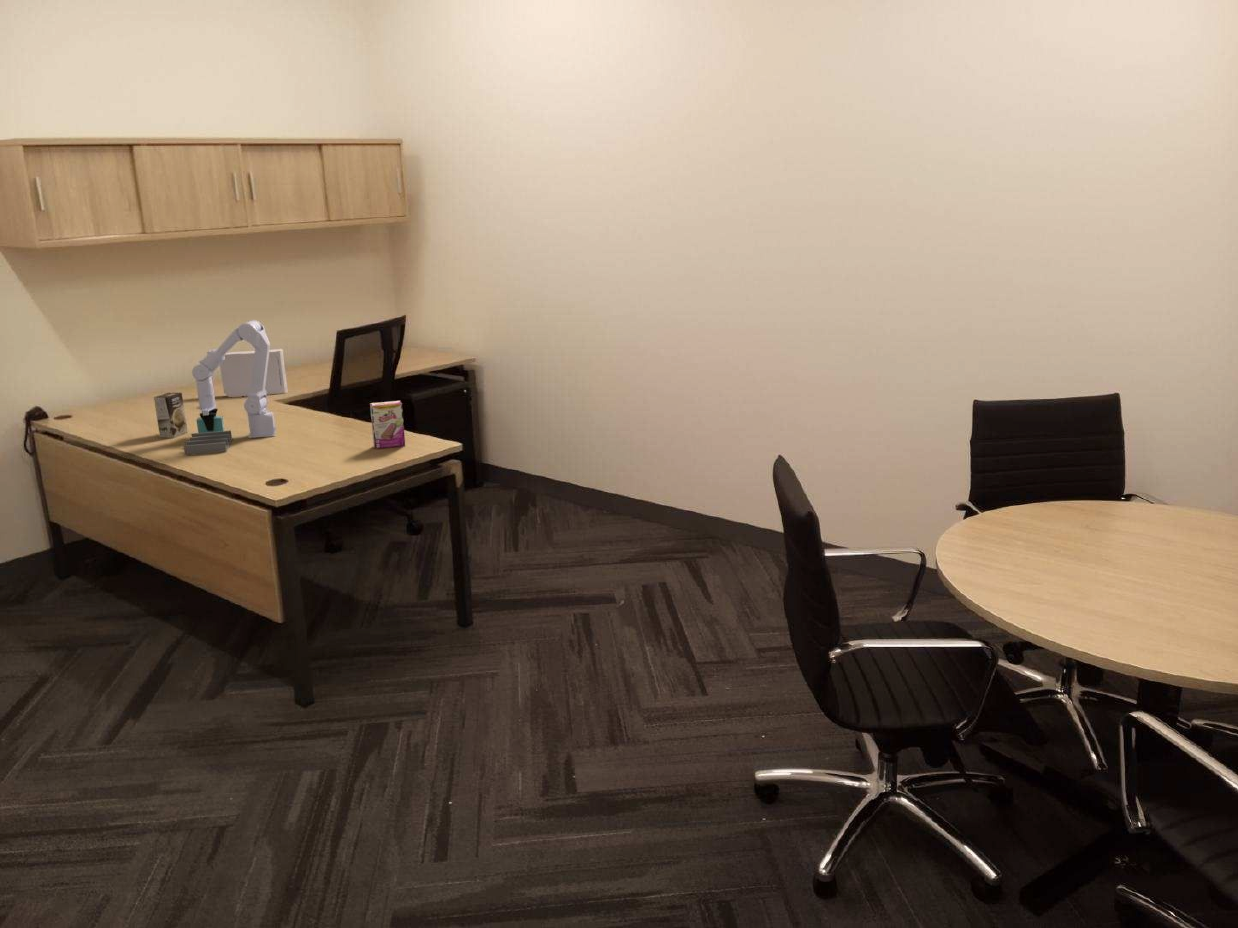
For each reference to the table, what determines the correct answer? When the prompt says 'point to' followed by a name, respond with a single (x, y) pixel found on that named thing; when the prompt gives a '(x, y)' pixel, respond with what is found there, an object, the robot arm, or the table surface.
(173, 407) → the coffee box
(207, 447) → the rack
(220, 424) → the tall teal block
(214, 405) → the robot arm
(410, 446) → the table surface
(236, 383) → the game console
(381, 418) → the candy bar box
